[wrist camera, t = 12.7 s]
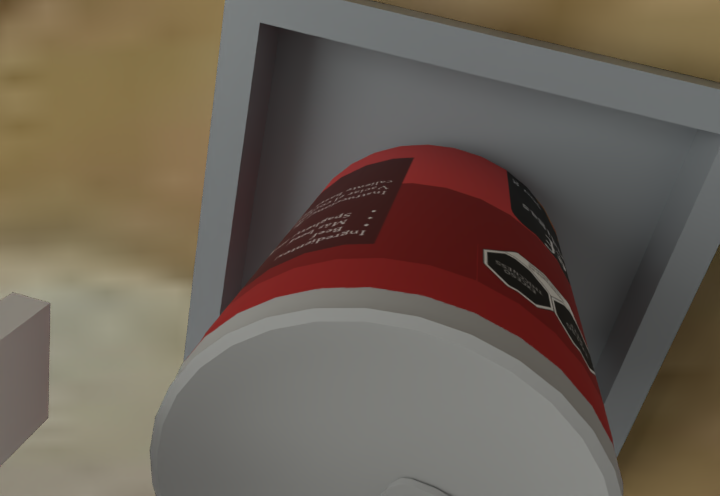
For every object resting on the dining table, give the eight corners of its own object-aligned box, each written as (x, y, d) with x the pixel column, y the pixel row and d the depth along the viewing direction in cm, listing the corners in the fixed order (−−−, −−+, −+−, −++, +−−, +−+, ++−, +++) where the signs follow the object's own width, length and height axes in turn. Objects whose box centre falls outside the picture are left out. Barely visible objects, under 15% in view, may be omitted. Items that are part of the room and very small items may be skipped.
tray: (573, 475, 23) (582, 528, 21) (207, 367, 25) (178, 406, 22) (747, 89, 18) (786, 105, 15) (259, -26, 19) (228, -27, 17)
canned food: (534, 381, 22) (571, 728, 12) (300, 338, 23) (150, 622, 13) (587, 157, 19) (702, 363, 9) (315, 120, 20) (133, 264, 10)
